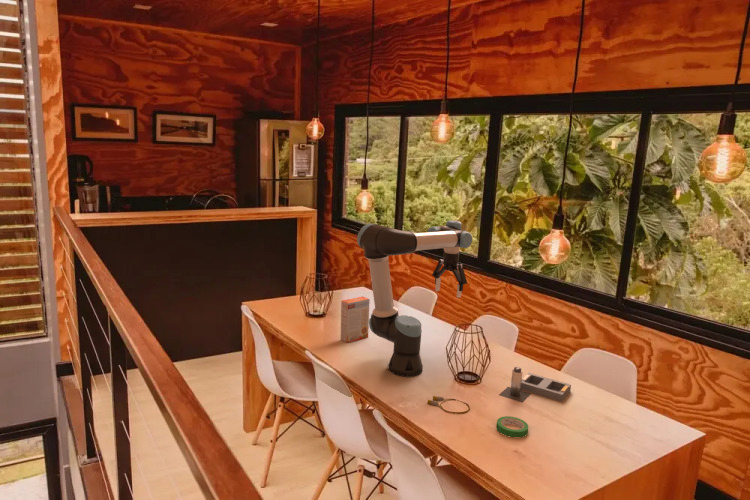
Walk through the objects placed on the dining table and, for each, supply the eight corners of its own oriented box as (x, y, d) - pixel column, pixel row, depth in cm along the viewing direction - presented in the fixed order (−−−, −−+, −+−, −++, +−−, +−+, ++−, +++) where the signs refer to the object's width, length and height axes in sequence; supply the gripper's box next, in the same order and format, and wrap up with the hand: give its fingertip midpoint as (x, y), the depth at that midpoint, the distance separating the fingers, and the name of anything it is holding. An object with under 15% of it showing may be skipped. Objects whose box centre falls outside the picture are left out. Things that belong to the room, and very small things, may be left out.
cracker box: (361, 334, 287) (362, 295, 283) (368, 338, 282) (370, 298, 278) (339, 339, 278) (340, 299, 274) (346, 343, 274) (348, 303, 269)
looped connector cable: (443, 394, 225) (444, 390, 224) (475, 409, 214) (476, 404, 213) (424, 403, 216) (424, 398, 216) (456, 419, 205) (456, 414, 205)
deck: (522, 404, 218) (522, 402, 218) (498, 397, 224) (498, 394, 223) (531, 395, 226) (531, 393, 226) (507, 388, 232) (508, 386, 231)
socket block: (561, 404, 220) (562, 394, 219) (517, 390, 230) (518, 381, 229) (570, 393, 230) (571, 384, 229) (527, 381, 240) (528, 372, 239)
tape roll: (527, 425, 203) (527, 418, 203) (528, 440, 193) (529, 433, 192) (496, 420, 205) (497, 414, 205) (495, 435, 195) (496, 428, 194)
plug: (517, 397, 222) (520, 371, 220) (508, 394, 224) (511, 368, 222) (521, 394, 225) (524, 368, 223) (512, 391, 227) (514, 365, 225)
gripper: (476, 256, 265) (472, 298, 269) (437, 247, 283) (433, 287, 287) (467, 257, 260) (463, 301, 264) (427, 248, 278) (424, 289, 282)
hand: (447, 294), depth 276 cm, fingers open, 13 cm apart
